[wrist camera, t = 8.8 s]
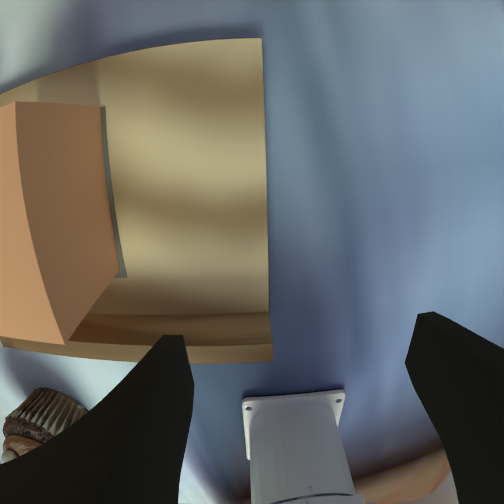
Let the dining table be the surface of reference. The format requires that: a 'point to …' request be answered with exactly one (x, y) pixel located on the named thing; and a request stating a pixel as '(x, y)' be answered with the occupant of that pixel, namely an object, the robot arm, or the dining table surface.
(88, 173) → the block
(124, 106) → the wooden tray
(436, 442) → the dining table surface
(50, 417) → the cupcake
